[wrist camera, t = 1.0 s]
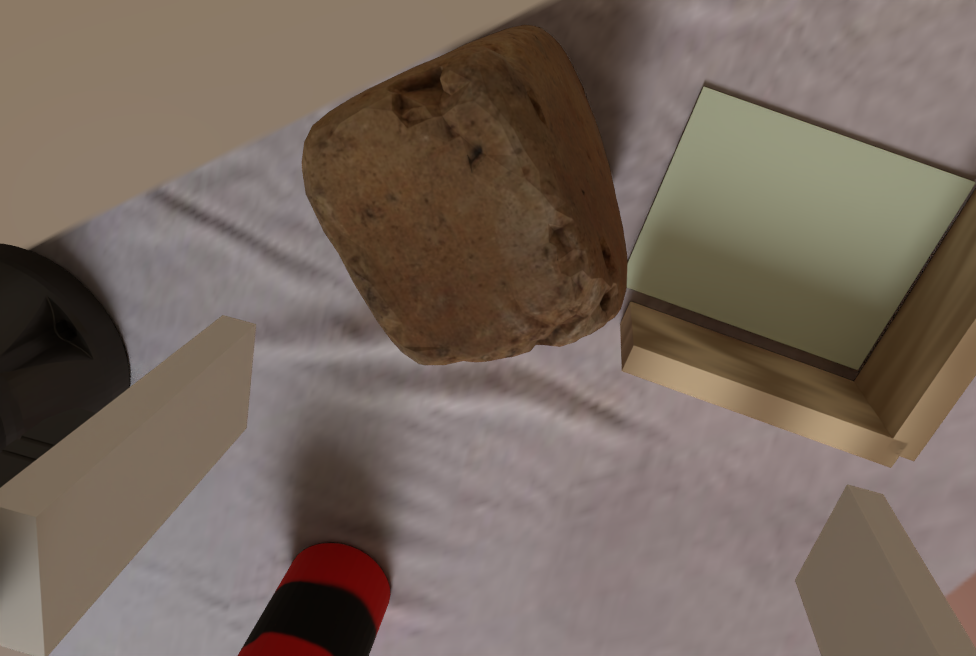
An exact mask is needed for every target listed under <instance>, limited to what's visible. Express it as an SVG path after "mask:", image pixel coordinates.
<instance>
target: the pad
mask: <svg viewBox="0 0 976 656" xmlns="http://www.w3.org/2000/svg"><path fill="white" fill-rule="evenodd" d="M975 183H976V182H974V181H971V180H968V179H965V178H962V177H959V176H957V175H954V174H951V173H948V172H945V171H942V170H940V169H937V168H934V167H931V166H928V165H925V164H922V163H920V162H917V161H914V160H911V159H908V158H905V157H903V156H900V155H897V154H894V153H891V152H888V151H886V150H883V149H880V148H877V147H874V146H871V145H869V144H866V143H863V142H860V141H857V140H854V139H852V138H849V137H846V136H843V135H840V134H837V133H835V132H832V131H829V130H826V129H823V128H820V127H818V126H815V125H812V124H809V123H806V122H803V121H801V120H798V119H795V118H792V117H789V116H786V115H783V114H781V113H778V112H775V111H772V110H769V109H766V108H764V107H761V106H758V105H755V104H752V103H749V102H747V101H744V100H741V99H738V98H735V97H732V96H730V95H727V94H724V93H721V92H718V91H715V90H713V89H710V88H707V87H704V86H703V88H702V91H701V93H700V95H699V98H698V100H697V102H696V105H695V107H694V109H693V112H692V114H691V116H690V118H689V121H688V123H687V125H686V128H685V130H684V132H683V135H682V137H681V139H680V142H679V144H678V146H677V149H676V151H675V153H674V156H673V158H672V160H671V163H670V165H669V167H668V170H667V172H666V174H665V177H664V179H663V181H662V184H661V186H660V188H659V191H658V193H657V195H656V198H655V200H654V202H653V205H652V207H651V209H650V212H649V214H648V216H647V219H646V221H645V223H644V226H643V228H642V230H641V233H640V235H639V237H638V240H637V242H636V244H635V246H634V249H633V251H632V253H631V256H630V258H629V260H628V263H627V288H630V289H632V290H635V291H638V292H641V293H644V294H646V295H649V296H652V297H655V298H658V299H660V300H663V301H666V302H669V303H671V304H674V305H677V306H680V307H683V308H685V309H688V310H691V311H694V312H697V313H699V314H702V315H705V316H708V317H711V318H713V319H716V320H719V321H722V322H725V323H727V324H730V325H733V326H736V327H739V328H741V329H744V330H747V331H750V332H752V333H755V334H758V335H761V336H764V337H766V338H769V339H772V340H775V341H778V342H780V343H783V344H786V345H789V346H792V347H794V348H797V349H800V350H803V351H806V352H808V353H811V354H814V355H817V356H820V357H822V358H825V359H828V360H831V361H833V362H836V363H839V364H842V365H845V366H847V367H850V368H853V369H856V370H858V369H859V368H860V366H861V365H862V363H863V361H864V360H865V358H866V357H867V355H868V353H869V352H870V350H871V349H872V347H873V345H874V344H875V342H876V341H877V339H878V338H879V336H880V334H881V333H882V331H883V330H884V328H885V326H886V325H887V323H888V322H889V320H890V318H891V317H892V315H893V314H894V312H895V311H896V309H897V307H898V306H899V304H900V303H901V301H902V299H903V298H904V296H905V295H906V293H907V291H908V290H909V288H910V287H911V285H912V283H913V282H914V280H915V279H916V277H917V276H918V274H919V272H920V271H921V269H922V268H923V266H924V264H925V263H926V261H927V260H928V258H929V256H930V255H931V253H932V252H933V250H934V248H935V247H936V245H937V244H938V242H939V241H940V239H941V237H942V236H943V234H944V233H945V231H946V229H947V228H948V226H949V225H950V223H951V221H952V220H953V218H954V217H955V215H956V213H957V212H958V210H959V209H960V207H961V206H962V204H963V202H964V201H965V199H966V198H967V196H968V194H969V193H970V191H971V190H972V188H973V186H974V185H975Z"/></svg>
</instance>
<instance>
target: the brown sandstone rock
mask: <svg viewBox="0 0 976 656" xmlns="http://www.w3.org/2000/svg"><path fill="white" fill-rule="evenodd" d="M302 172H303V179H304V185H305V192H306V195H307V197H308V199H309V202H310V204H311V206H312V208H313V210H314V212H315V214H316V216H317V218H318V220H319V223H320V225H321V227H322V229H323V231H324V233H325V234H326V236H327V237H328V239H329V240H330V242H331V243H332V244H333V246H334V247H335V249H336V250H337V252H338V253H339V255H340V257H341V259H342V261H343V263H344V265H345V267H346V269H347V271H348V273H349V275H350V277H351V279H352V280H353V282H354V284H355V286H356V287H357V289H358V291H359V292H360V294H361V296H362V297H363V299H364V300H365V302H366V304H367V305H368V307H369V309H370V310H371V312H372V313H373V315H374V317H375V318H376V320H377V322H378V323H379V324H380V326H381V327H382V328H383V330H384V331H385V332H386V334H387V335H388V337H389V338H390V339H391V341H392V342H393V343H394V344H395V345H396V346H397V347H398V348H399V350H400V351H401V352H402V353H404V354H405V355H407V356H408V357H409V358H411V359H412V360H414V361H415V362H417V363H418V364H422V365H447V364H451V363H456V362H460V361H468V362H486V361H492V360H497V359H502V358H507V357H514V356H517V355H520V354H523V353H526V352H529V351H531V350H532V349H533V347H534V346H535V345H549V346H559V347H560V346H564V345H567V344H570V343H573V342H576V341H577V340H579V339H580V338H582V337H584V336H587V335H590V334H592V333H593V332H595V331H597V330H598V329H600V328H601V327H603V326H604V325H605V324H606V323H607V322H608V321H610V320H611V319H613V318H615V316H616V315H617V313H618V312H619V311H620V309H621V307H622V304H623V300H624V296H625V292H626V288H627V252H626V244H625V239H624V231H623V226H622V221H621V217H620V211H619V207H618V203H617V199H616V194H615V189H614V184H613V181H612V176H611V171H610V167H609V163H608V160H607V157H606V153H605V150H604V146H603V143H602V139H601V135H600V132H599V130H598V127H597V124H596V121H595V118H594V116H593V113H592V111H591V108H590V106H589V103H588V101H587V98H586V96H585V92H584V89H583V87H582V85H581V83H580V80H579V78H578V76H577V74H576V72H575V70H574V68H573V66H572V64H571V62H570V60H569V58H568V56H567V54H566V53H565V51H564V50H563V49H562V47H561V46H560V44H559V43H558V42H557V41H556V40H555V39H554V38H553V37H552V36H551V35H550V34H548V33H547V32H546V31H544V30H543V29H542V28H539V27H536V26H531V25H521V26H517V27H512V28H508V29H505V30H502V31H499V32H497V33H494V34H491V35H488V36H486V37H483V38H480V39H478V40H475V41H472V42H470V43H467V44H465V45H463V46H461V47H459V48H457V49H455V50H453V51H451V52H449V53H446V54H444V55H442V56H440V57H438V58H435V59H433V60H431V61H428V62H426V63H423V64H421V65H418V66H416V67H413V68H411V69H409V70H407V71H405V72H403V73H401V74H399V75H397V76H395V77H393V78H390V79H388V80H386V81H384V82H382V83H380V84H378V85H376V86H374V87H372V88H369V89H367V90H366V91H364V92H362V93H360V94H358V95H356V96H354V97H352V98H351V99H349V100H347V101H346V102H344V103H343V104H341V105H339V106H338V107H336V108H334V109H333V110H331V111H330V112H328V113H327V114H326V115H325V116H323V117H322V118H321V119H320V120H319V121H317V122H316V123H315V124H314V125H313V126H312V128H311V130H310V132H309V134H308V136H307V138H306V140H305V142H304V149H303V156H302Z"/></svg>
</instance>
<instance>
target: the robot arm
mask: <svg viewBox="0 0 976 656" xmlns="http://www.w3.org/2000/svg"><path fill="white" fill-rule="evenodd" d="M255 331H256V324H253V323H250V322H246V321H242V320H238V319H235V318H231V317H227V316H224V315H223V316H221V317H220V318H219V319H217V320H216V321H215V322H214V323H212V324H211V325H210V326H208V327H207V328H206V329H205V330H203V331H202V332H201V333H199V334H198V335H197V336H195V337H194V338H193V339H192V340H190V341H189V342H188V343H186V344H185V345H184V346H183V347H181V348H180V349H179V350H177V351H176V352H175V353H174V354H172V355H171V356H170V357H168V358H167V359H166V360H165V361H163V362H162V363H161V364H159V365H158V366H157V367H156V368H154V369H153V370H152V371H150V372H149V373H148V374H146V375H145V376H144V377H143V378H141V379H140V380H139V381H137V382H136V383H135V384H134V385H132V386H131V387H130V388H129V367H128V362H127V357H126V353H125V350H124V347H123V344H122V341H121V339H120V336H119V334H118V332H117V330H116V328H115V326H114V324H113V323H112V321H111V319H110V318H109V316H108V314H107V313H106V311H105V310H104V309H103V307H102V306H101V305H100V303H99V302H98V301H97V300H96V298H95V297H94V296H93V295H92V294H91V293H90V292H89V291H88V290H87V289H86V288H85V287H84V286H83V285H82V284H81V283H80V282H79V281H78V280H77V279H76V278H74V277H73V276H72V275H71V274H69V273H68V272H67V271H65V270H64V269H63V268H61V267H60V266H58V265H57V264H55V263H53V262H52V261H50V260H48V259H46V258H44V257H42V256H40V255H38V254H36V253H34V252H31V251H29V250H26V249H23V248H20V247H16V246H12V245H6V244H0V646H2V647H6V648H9V649H12V650H16V651H19V652H22V653H26V654H29V655H33V656H48V655H49V654H50V653H51V652H52V650H53V649H54V648H55V647H56V646H57V645H58V644H59V642H60V641H61V640H62V639H63V638H64V637H65V635H66V634H67V633H68V632H69V631H70V630H71V629H72V627H73V626H74V625H75V624H76V623H77V622H78V621H79V619H80V618H81V617H82V616H83V615H84V614H85V613H86V611H87V610H88V609H89V608H90V607H91V606H92V605H93V603H94V602H95V601H96V600H97V599H98V598H99V597H100V595H101V594H102V593H103V592H104V591H105V590H106V588H107V587H108V586H109V585H110V584H111V583H112V582H113V580H114V579H115V578H116V577H117V576H118V575H119V574H120V572H121V571H122V570H123V569H124V568H125V567H126V566H127V564H128V563H129V562H130V561H131V560H132V559H133V558H134V556H135V555H136V554H137V553H138V552H139V551H140V550H141V548H142V547H143V546H144V545H145V544H146V543H147V542H148V540H149V539H150V538H151V537H152V536H153V535H154V533H155V532H156V531H157V530H158V529H159V528H160V527H161V525H162V524H163V523H164V522H165V521H166V520H167V519H168V517H169V516H170V515H171V514H172V513H173V512H174V511H175V509H176V508H177V507H178V506H179V505H180V504H181V503H182V501H183V500H184V499H185V498H186V497H187V496H188V495H189V493H190V492H191V491H192V490H193V489H194V488H195V486H196V485H197V484H198V483H199V482H200V481H201V480H202V478H203V477H204V476H205V475H206V474H207V473H208V472H209V470H210V469H211V468H212V467H213V466H214V465H215V464H216V462H217V461H218V460H219V459H220V458H221V457H222V456H223V454H224V453H225V452H226V451H227V450H228V449H229V448H230V446H231V445H232V444H233V443H234V442H235V441H236V439H237V438H238V437H239V436H240V435H241V434H242V433H243V431H244V430H245V429H246V428H247V418H248V407H249V396H250V385H251V374H252V363H253V352H254V342H255ZM795 582H796V584H797V587H798V590H799V593H800V596H801V599H802V602H803V604H804V607H805V610H806V613H807V616H808V619H809V622H810V624H811V627H812V630H813V633H814V636H815V639H816V642H817V644H818V647H819V650H820V653H821V656H976V648H975V647H974V645H973V643H972V641H971V640H970V638H969V636H968V635H967V633H966V631H965V630H964V628H963V627H962V625H961V623H960V622H959V620H958V618H957V617H956V615H955V613H954V612H953V610H952V608H951V607H950V605H949V603H948V602H947V600H946V598H945V597H944V595H943V593H942V592H941V590H940V588H939V587H938V585H937V583H936V582H935V580H934V578H933V577H932V575H931V573H930V572H929V570H928V568H927V567H926V565H925V563H924V562H923V560H922V558H921V557H920V555H919V553H918V552H917V550H916V548H915V547H914V545H913V543H912V542H911V540H910V538H909V537H908V535H907V533H906V532H905V530H904V528H903V527H902V525H901V523H900V522H899V520H898V518H897V517H896V515H895V513H894V512H893V510H892V508H891V507H890V505H889V503H888V502H887V500H886V498H885V497H884V495H883V494H880V493H877V492H873V491H869V490H866V489H862V488H858V487H855V486H851V485H847V486H846V488H845V489H844V491H843V493H842V495H841V497H840V499H839V500H838V502H837V504H836V506H835V508H834V510H833V511H832V513H831V515H830V517H829V519H828V521H827V522H826V524H825V526H824V528H823V530H822V532H821V533H820V535H819V537H818V539H817V541H816V543H815V544H814V546H813V548H812V550H811V552H810V554H809V555H808V557H807V559H806V561H805V563H804V565H803V566H802V568H801V570H800V572H799V574H798V576H797V577H796V579H795Z"/></svg>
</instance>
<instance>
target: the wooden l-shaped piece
mask: <svg viewBox="0 0 976 656" xmlns="http://www.w3.org/2000/svg"><path fill="white" fill-rule="evenodd" d="M620 332H621V360H622V371H623V372H626V373H629V374H632V375H634V376H637V377H640V378H643V379H646V380H648V381H651V382H654V383H657V384H659V385H662V386H665V387H668V388H671V389H673V390H676V391H679V392H682V393H684V394H687V395H690V396H693V397H696V398H698V399H701V400H704V401H707V402H709V403H712V404H715V405H718V406H721V407H723V408H726V409H729V410H732V411H734V412H737V413H740V414H743V415H746V416H748V417H751V418H754V419H757V420H759V421H762V422H765V423H768V424H770V425H773V426H776V427H779V428H782V429H784V430H787V431H790V432H793V433H795V434H798V435H801V436H804V437H807V438H809V439H812V440H815V441H818V442H820V443H823V444H826V445H829V446H832V447H834V448H837V449H840V450H843V451H845V452H848V453H851V454H854V455H857V456H859V457H862V458H865V459H868V460H870V461H873V462H876V463H879V464H882V465H884V466H887V467H890V468H891V467H892V466H893V464H894V463H895V462H896V460H897V459H898V457H899V456H901V457H904V458H906V459H909V460H912V461H915V459H916V458H917V457H918V455H919V454H920V452H921V451H922V450H923V448H924V447H925V445H926V444H927V443H928V441H929V440H930V438H931V437H932V436H933V434H934V433H935V431H936V430H937V429H938V427H939V426H940V424H941V423H942V422H943V420H944V419H945V417H946V416H947V415H948V413H949V412H950V410H951V409H952V408H953V406H954V405H955V403H956V402H957V401H958V399H959V398H960V396H961V395H962V394H963V392H964V391H965V390H966V388H967V387H968V385H969V384H970V383H971V381H972V380H973V378H974V377H975V376H976V189H975V190H974V192H973V194H972V195H971V197H970V198H969V200H968V201H967V203H966V205H965V206H964V208H963V209H962V211H961V213H960V214H959V216H958V217H957V219H956V221H955V222H954V224H953V225H952V227H951V228H950V230H949V232H948V233H947V235H946V236H945V238H944V240H943V241H942V243H941V244H940V246H939V247H938V249H937V251H936V252H935V254H934V255H933V257H932V259H931V260H930V262H929V263H928V265H927V266H926V268H925V270H924V271H923V273H922V274H921V276H920V278H919V279H918V281H917V282H916V284H915V285H914V287H913V289H912V290H911V292H910V293H909V295H908V297H907V298H906V300H905V301H904V303H903V305H902V306H901V308H900V309H899V311H898V312H897V314H896V316H895V317H894V319H893V320H892V322H891V324H890V325H889V327H888V328H887V330H886V331H885V333H884V335H883V336H882V338H881V339H880V341H879V343H878V344H877V346H876V347H875V349H874V350H873V352H872V354H871V355H870V357H869V358H868V360H867V362H866V363H865V365H864V366H863V368H862V369H861V371H860V373H859V374H858V376H857V377H856V379H855V381H852V380H849V379H846V378H843V377H841V376H838V375H835V374H832V373H829V372H827V371H824V370H821V369H818V368H815V367H813V366H810V365H807V364H804V363H802V362H799V361H796V360H793V359H790V358H788V357H785V356H782V355H779V354H776V353H774V352H771V351H768V350H765V349H762V348H760V347H757V346H754V345H751V344H749V343H746V342H743V341H740V340H737V339H735V338H732V337H729V336H726V335H723V334H721V333H718V332H715V331H712V330H709V329H707V328H704V327H701V326H698V325H695V324H693V323H690V322H687V321H684V320H682V319H679V318H676V317H673V316H670V315H668V314H665V313H662V312H659V311H656V310H654V309H651V308H648V307H645V306H642V305H640V304H637V303H634V302H631V301H630V303H629V305H628V308H627V310H626V312H625V314H624V317H623V319H622V321H621V323H620Z"/></svg>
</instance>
